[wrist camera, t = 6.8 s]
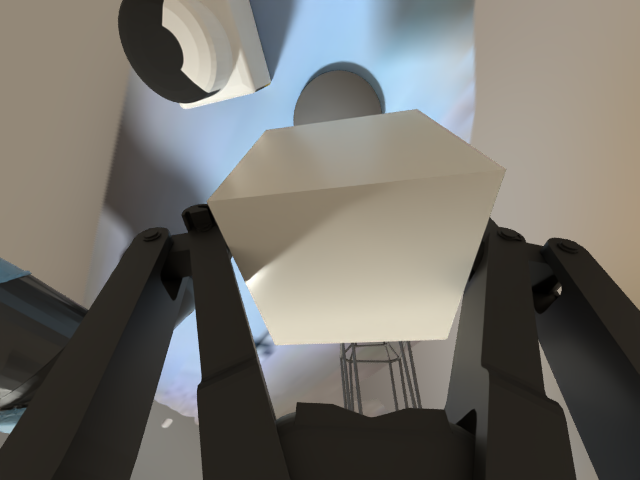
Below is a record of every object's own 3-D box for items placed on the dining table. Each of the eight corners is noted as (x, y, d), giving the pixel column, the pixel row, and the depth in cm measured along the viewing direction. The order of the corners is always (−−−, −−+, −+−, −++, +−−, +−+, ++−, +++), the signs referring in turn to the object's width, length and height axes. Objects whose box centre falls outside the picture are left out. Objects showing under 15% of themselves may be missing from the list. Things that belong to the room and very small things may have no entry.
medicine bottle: (212, 98, 27) (148, 123, 18) (177, 13, 23) (68, -14, 13) (272, 84, 26) (238, 102, 17) (247, -8, 22) (183, -54, 12)
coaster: (297, 164, 31) (296, 166, 31) (291, 70, 25) (289, 70, 25) (374, 164, 31) (375, 167, 30) (387, 69, 25) (388, 70, 24)
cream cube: (294, 242, 20) (275, 345, 13) (266, 129, 15) (206, 201, 8) (404, 233, 19) (446, 339, 12) (417, 108, 14) (506, 169, 7)
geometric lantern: (410, 305, 48) (513, 640, 21) (399, 345, 58) (459, 611, 30) (332, 305, 49) (331, 625, 22) (333, 345, 59) (335, 601, 32)
